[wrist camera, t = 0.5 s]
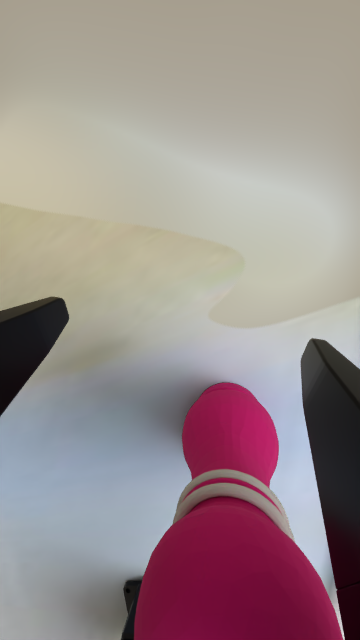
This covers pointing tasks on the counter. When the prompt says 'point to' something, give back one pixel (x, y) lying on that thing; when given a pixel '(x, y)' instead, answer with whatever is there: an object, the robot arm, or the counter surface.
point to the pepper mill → (231, 539)
